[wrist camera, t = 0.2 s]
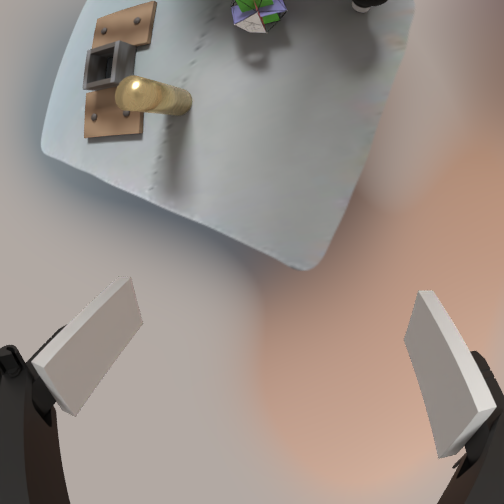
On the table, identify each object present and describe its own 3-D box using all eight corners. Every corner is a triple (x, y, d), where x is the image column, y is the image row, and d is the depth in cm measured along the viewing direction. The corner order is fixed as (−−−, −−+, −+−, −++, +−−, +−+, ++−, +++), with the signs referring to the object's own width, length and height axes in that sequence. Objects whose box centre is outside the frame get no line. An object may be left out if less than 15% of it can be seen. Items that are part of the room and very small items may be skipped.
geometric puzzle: (225, -9, 26) (217, -4, 22) (274, -22, 24) (276, -21, 20) (243, 31, 32) (239, 44, 27) (290, 19, 30) (295, 30, 25)
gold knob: (167, 90, 35) (116, 78, 24) (193, 88, 34) (146, 72, 24) (166, 116, 37) (113, 112, 26) (191, 115, 36) (143, 108, 25)
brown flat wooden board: (100, 20, 32) (84, 14, 28) (157, 2, 30) (142, -7, 26) (88, 137, 40) (69, 139, 36) (142, 133, 38) (125, 133, 34)
